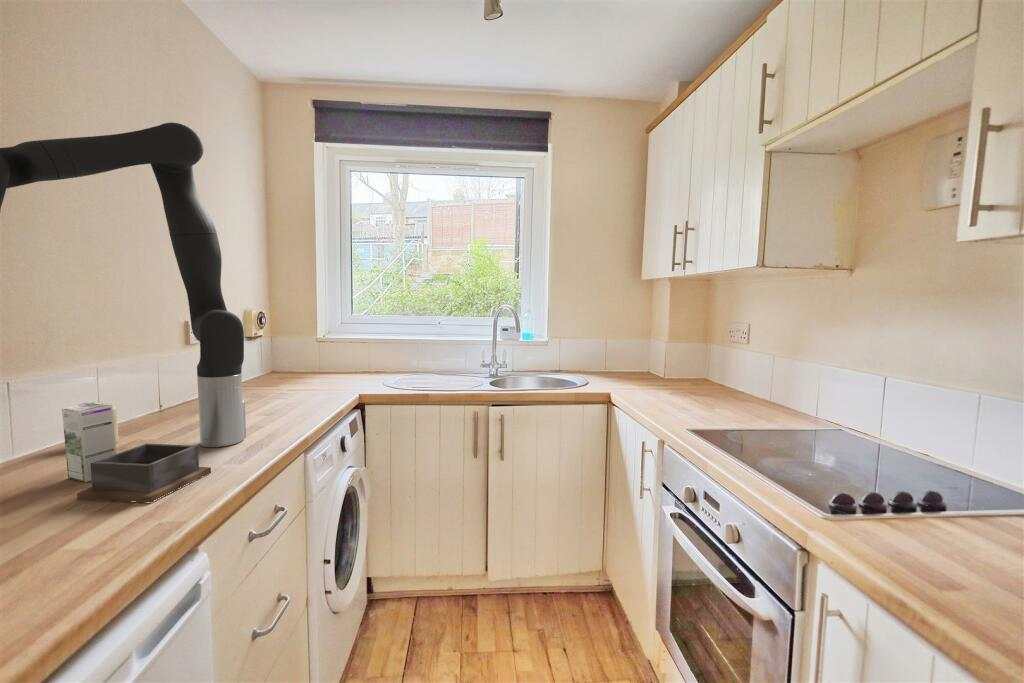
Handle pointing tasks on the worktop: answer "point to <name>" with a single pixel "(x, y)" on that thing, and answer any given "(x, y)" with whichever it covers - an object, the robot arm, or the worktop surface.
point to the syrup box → (87, 437)
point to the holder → (143, 473)
